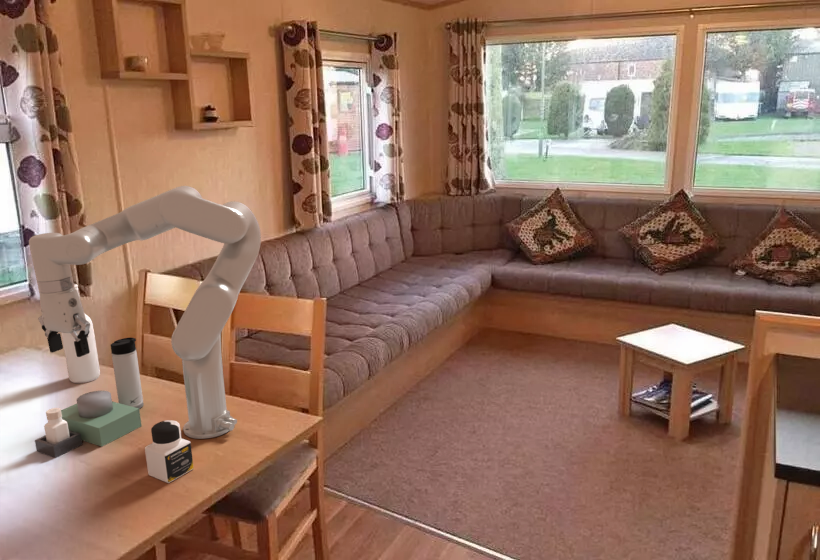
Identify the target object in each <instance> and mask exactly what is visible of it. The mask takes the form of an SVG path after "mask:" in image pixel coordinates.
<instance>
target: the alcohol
mask: <svg viewBox="0 0 820 560" xmlns="http://www.w3.org/2000/svg"><path fill="white" fill-rule="evenodd" d="M78 286H79V285H78V284H77V283H74V287H75V289H76V290H77V292H78V295H79V297H80V293H79V288H78ZM80 298H81V297H80ZM84 314H85V318H86V321H88V322H89V323H90V328H89V334H88V338H87V340H88V345H89V351H90V353H89V354H86V355H84V356H81V357H77V355H76V350H75V345H74V341H76V340H75V339H74V337H73V336H72V335H71V333H63V332H60V334H61V340H62V344H63V351H64V357H65V364H66V367H67V368H66V369H67V373H68V374H67V375H68V379H69V381H70V382H71V383H74V384H87V383H89V382H93V381H96V380H97V379H99V377H100V376H101V371H100V369H101V368H100V363H99V355H98V349H97V341H96V336H95V331H94V324H93V321H92V319H91V317H90V316H88V315H87V313H85V312H84ZM73 329H74V328H73ZM76 333H77V334H78V335H79V333H80V332H79V331H77V332H76Z"/></svg>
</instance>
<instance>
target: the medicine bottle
mask: <svg viewBox="0 0 820 560" xmlns="http://www.w3.org/2000/svg"><path fill="white" fill-rule="evenodd" d="M150 433H151V439H152V443H150V444H148V445H147V446H145V447H144V454H145V460H146V466H147V467H146V468H147V472H148V476H151V477H152V478H155V479H157V480H159V481H162V482H164V483H167V484H170V483H172V482H173V481H175V480H177V479H179V478H180V477H182V476H184V475H186V474H187V473H189V472H191V471H193V470H194V461H193V453H192V452H193V450H192V443H191V441H190V440H187V439H184V438H182V431H181V425H180V423H179V422H178V421H177V420H171V419H167V420H162V421H159V422H157V423H155V424H154V425H152V427H151V428H150Z"/></svg>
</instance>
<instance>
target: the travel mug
mask: <svg viewBox="0 0 820 560" xmlns="http://www.w3.org/2000/svg"><path fill="white" fill-rule="evenodd" d="M136 341H137V339H136V337H125V338H120V339H118V340H114V341H113V342H112V343H110V351H111V358H112V359H111V360H112V366H113V372H114V381H115V385H116V386H115V388H116V393H117V401H118V402H117V403H120V404H124V405H128V406H131V407H135V408H139V410H140V409H141V408H143V407H144V396H143V391H142V390H143V389H142V384H141V383H142V382H141V377H140V376H141V375H140V368H139V367H140V366H139V359H138V353H137V347H136Z"/></svg>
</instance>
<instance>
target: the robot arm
mask: <svg viewBox="0 0 820 560" xmlns="http://www.w3.org/2000/svg"><path fill="white" fill-rule="evenodd" d="M175 228H177V229H179V230H181V231H184V232H187V233H190V234H193V235H196V236H199V237H202V238H205V239H208V240H211V241H214V242H217V243H221V244H223V246H222V248H221V250H220V252H219V254H218V255H217V257H216V260H215V262H214V263H213V265H212V267H211V269H210V271H209V272H208V274H207V275H206V277H204V280H202V282H201V283H200V284H199V285H198V287H197V289H196V291H194V294H193V295H192V297H191V300H190V301H189V303H188V305H187V307H186V308H185V311H184V312H183V314H182V316H181V317H180V319H179V321H178V323H177V325H176V326H175V329H174V330H173V331H172V332H173V333H172V335H171V343H170V344H171V349H172V350H173V352H174V353H175V355H176V356H177V357H178V358H180V359H181V363H182V371H183V380H184V381H183V382H184V389H185V399H186V406H187V407H186V408H187V417H188V421H187V422H186V423H184V425H183V428H182V429H183V433H184V435H186V437H189V438H192V439H199V440H202V439H203V440H204V439H211V438H216V437H219V436H222V435H225V434H226V433H228V432H230V431H233V430H234V429H235V425H236V424H237V423H238V419H236V418H234V417H233V416H232V415H231V411H230V410H228V408H227V400H226V391H225V390H226V389H225V380H224V371H223V370H224V369H223V368H224V366H223V359H222V342H221V341H222V337H221V336H222V331H223V329H224V327H225V326H226V324H227V322H228V320H229V318H230V317H231V315H232V313H233V311H234V309H235V307H236V304H237V300H238V298H239V295H240V292H241V290H242V288H243V286H244V284H245V282H246V280H247V278H248V277H249V275H250V274H251V273H250V272H251V270H252V269H253V267H254V264H255V263H256V260H257V258H258V255H259V252H260V248H261V242H262V236H261V235H262V232H261V227H260V224H259V221H258V219H257V217H256V215H255V214H254V212H253V211H252V210H251V209H250V208H249V207H248V206H247V205H246V204H244V203H242V202H240V201H235V200H234V201H228V202H226V203H223V204H220V203H218V202H217V203H216V202H214V201H211V200H209V199H205V198H203V196H202V195H201V193H200V192H199V191H198V190H197V189H196V188H194V187H192V186H189V185H181V186H176V187H174V188H172V189H169V190H167V191H164V192H162V193H160V194H157V195H155V196H153V197H150V198H147V199H145V200H142V201H140V202H138V203H134V204H132V205H130V206H128V207H127V208H124V209H123V210H122V211H120V212H118V213H116V214H113V215H111V216H108V217H105V218H103V219H101V220H98V221H96V222H94V223H91V224H89V225H86V226H84V227H81V228H79V229H77V230H75V231H73V232H71V233H67V234H64V235H63V234H62V233H59V232H47V233H39V234H36V235H32V236H31V237H30V238H29V240H28V245H29V246H28V247H29V251H30V256H31V260H32V265H33V270H34V275H35V279H36V283H37V289H38V292H39V301H40V302H39V303H40V304H39V305H40V312H41V315H40V316H39V317H38V319H37V320H38V322H39V323H40V325H41V329H42V331H44V336H45V337H46V339H47V344H48V348H49V352H50V353H56V352H58V351H61V350H64V345H63V339H62V334H61V332H63V333H71V335H72V336H73V337H74V339H75V340H76V341H74V345H75V350H76V355H77V357H81V356H84V355H86V354H89V353H90V351H89V345H88V340H87V338H88V334H89V328H90V323H89V322H88V321H86V318H85V314H86V313H85V310H84V307H83V304H82V300H81V297H79V296H80V294H79V295H78V292H79V291H78V292H77V290H76V289H75V287H74V284H75V283H74V277H73V272H72V267H71V265H72V266H73V265H76V266H78V265H79V266H81V265H85V264H88V263H90V262H91V261H93V260H94V259H96V258H97V257H99V256H101V255H102V254H104V253H106V252H108V251H111V250H114V249H116V248H118V247H121V246H123V245H126V244H129V243H132V242H135V241H146V240H149V239H152V238H154V237H156V236H159V235H161V234H163V233H166V232H168V231H170V230H171V231H172V229H173V230H174V229H175ZM84 313H85V314H84ZM73 328H74V329H73ZM77 331H79V332H80V333H79V335H78V334H77V333H76V332H77Z"/></svg>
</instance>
